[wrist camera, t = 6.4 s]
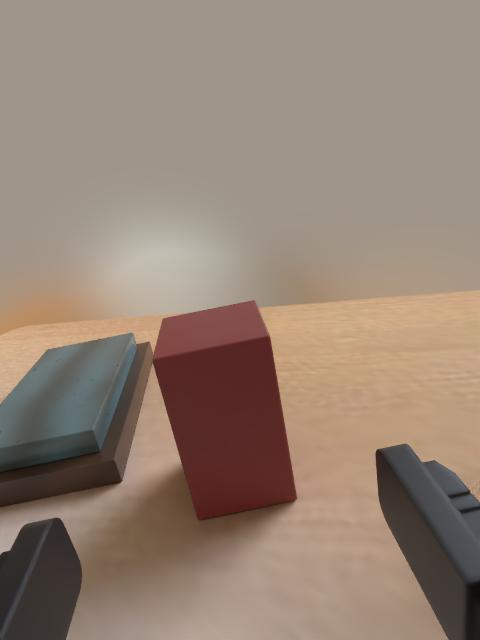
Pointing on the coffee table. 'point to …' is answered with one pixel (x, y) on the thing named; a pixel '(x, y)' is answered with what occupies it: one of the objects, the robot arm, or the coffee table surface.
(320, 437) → the coffee table surface
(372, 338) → the coffee table surface
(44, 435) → the blue-grey flat block
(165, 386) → the pillar block
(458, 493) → the robot arm
